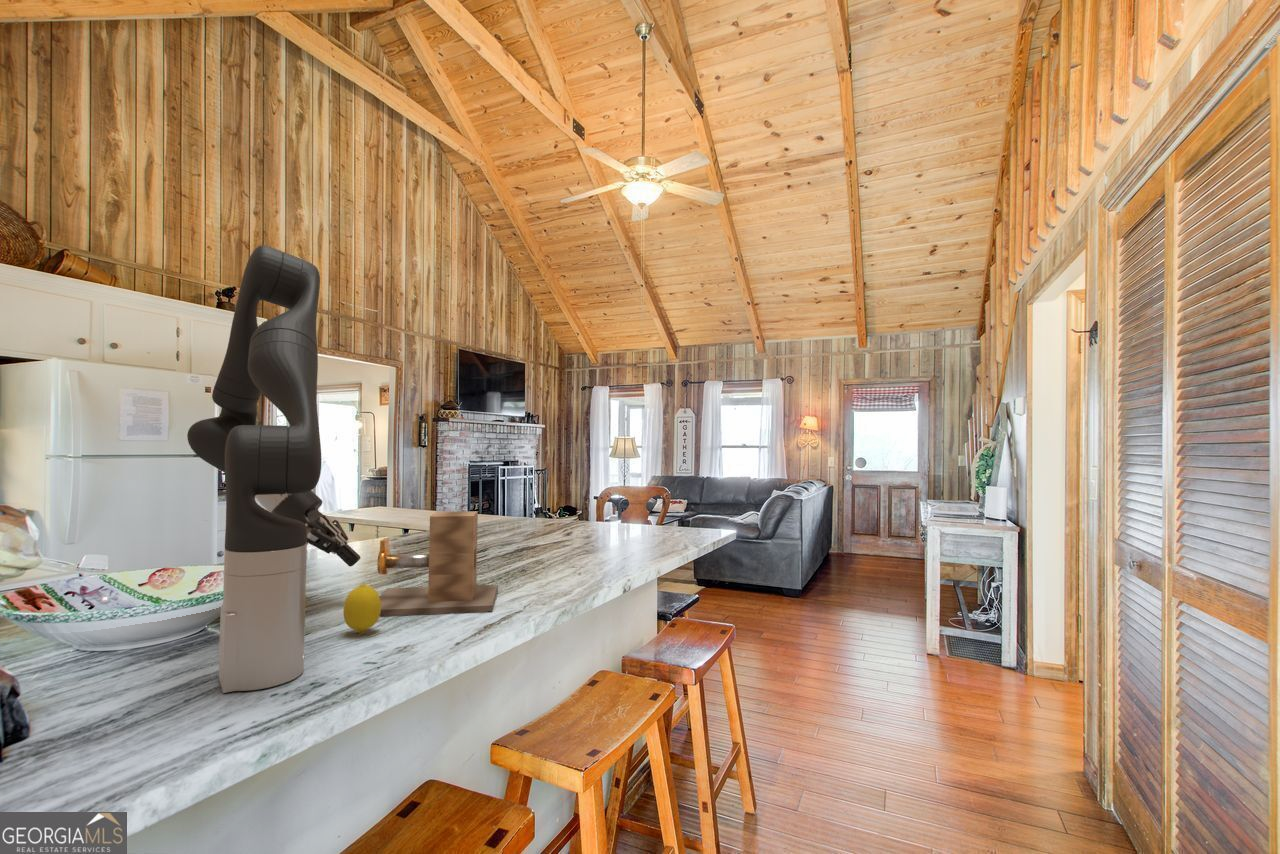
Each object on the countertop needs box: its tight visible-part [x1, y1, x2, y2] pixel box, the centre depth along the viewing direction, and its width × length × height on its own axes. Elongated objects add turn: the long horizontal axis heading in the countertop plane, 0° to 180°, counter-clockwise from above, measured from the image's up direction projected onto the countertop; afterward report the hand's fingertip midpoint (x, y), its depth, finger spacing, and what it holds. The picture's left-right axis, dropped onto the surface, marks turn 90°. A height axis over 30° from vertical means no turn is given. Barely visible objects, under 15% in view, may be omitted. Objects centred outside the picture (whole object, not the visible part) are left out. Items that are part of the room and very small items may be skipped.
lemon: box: [343, 583, 381, 634], centre depth 95 cm, size 6×6×8 cm
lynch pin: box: [376, 537, 429, 576], centre depth 113 cm, size 12×5×7 cm, turn 100°
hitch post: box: [379, 510, 499, 618], centre depth 114 cm, size 22×16×17 cm
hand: (356, 562), depth 111 cm, fingers closed
